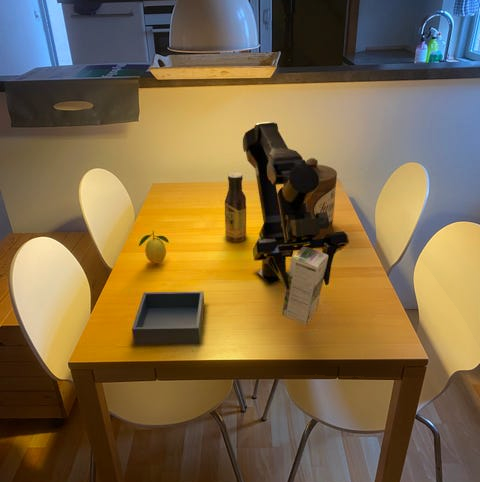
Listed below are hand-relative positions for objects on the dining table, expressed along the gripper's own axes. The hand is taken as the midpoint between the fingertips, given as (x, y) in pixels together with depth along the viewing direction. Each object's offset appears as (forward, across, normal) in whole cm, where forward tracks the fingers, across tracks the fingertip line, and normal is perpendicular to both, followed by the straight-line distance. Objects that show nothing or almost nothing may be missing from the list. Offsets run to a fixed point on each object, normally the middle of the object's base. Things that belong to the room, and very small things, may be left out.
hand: (307, 287), depth 94 cm
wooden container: (-26, +17, +46) cm, 56 cm away
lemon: (-18, -30, +38) cm, 52 cm away
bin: (+2, -28, +18) cm, 33 cm away
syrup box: (+4, -1, +7) cm, 8 cm away
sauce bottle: (-26, -6, +45) cm, 52 cm away
